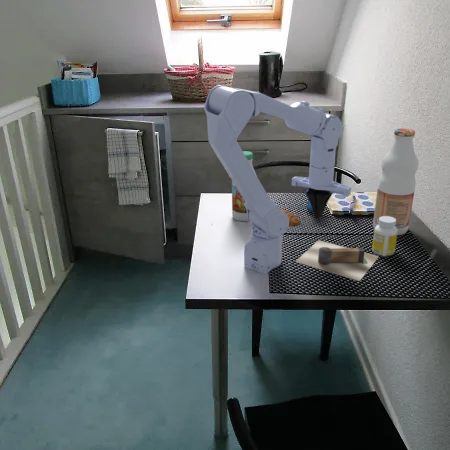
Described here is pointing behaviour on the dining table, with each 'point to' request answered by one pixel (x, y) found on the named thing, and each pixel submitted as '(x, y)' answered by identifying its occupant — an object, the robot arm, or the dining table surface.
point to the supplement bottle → (385, 236)
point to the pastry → (292, 218)
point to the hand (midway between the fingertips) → (318, 217)
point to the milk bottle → (237, 200)
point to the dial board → (341, 268)
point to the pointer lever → (340, 255)
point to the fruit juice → (397, 181)
